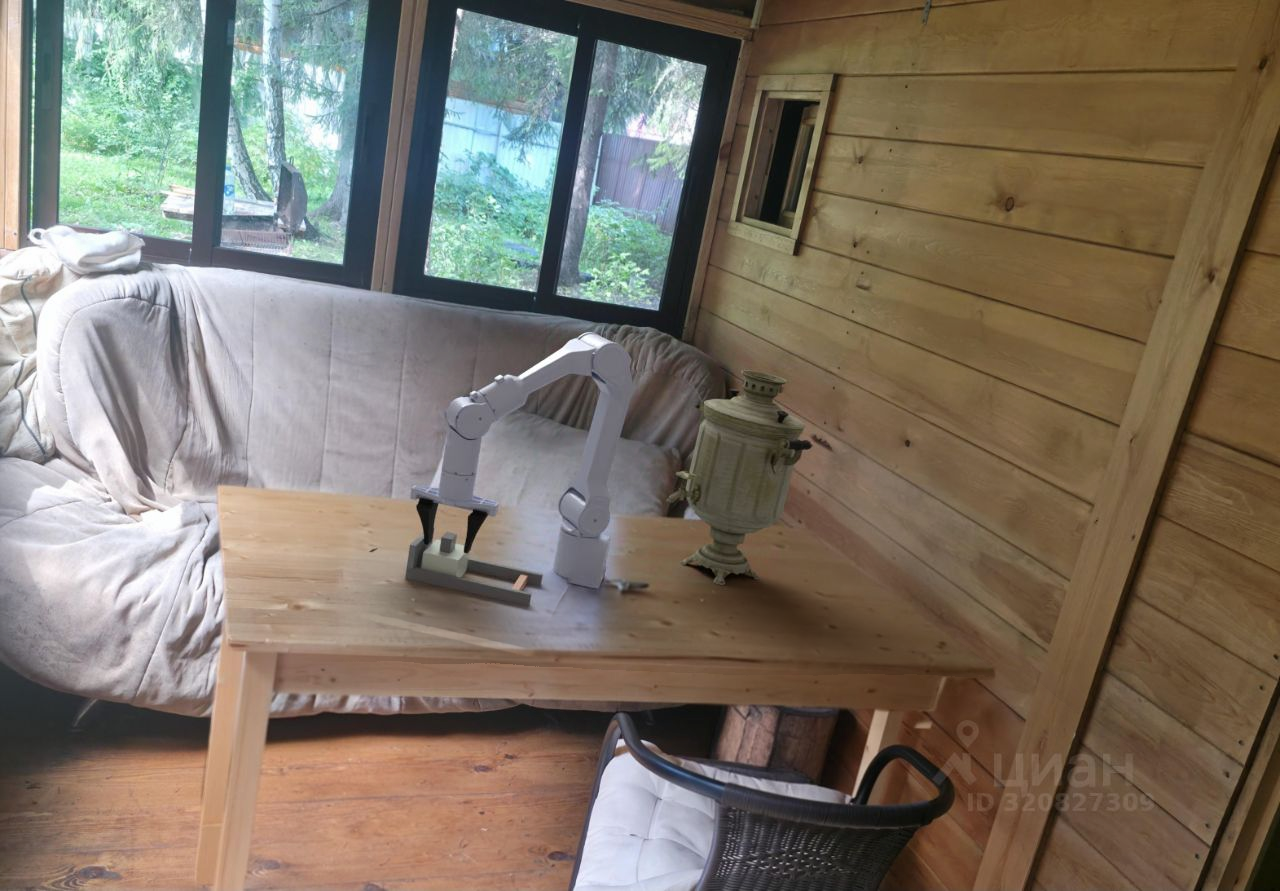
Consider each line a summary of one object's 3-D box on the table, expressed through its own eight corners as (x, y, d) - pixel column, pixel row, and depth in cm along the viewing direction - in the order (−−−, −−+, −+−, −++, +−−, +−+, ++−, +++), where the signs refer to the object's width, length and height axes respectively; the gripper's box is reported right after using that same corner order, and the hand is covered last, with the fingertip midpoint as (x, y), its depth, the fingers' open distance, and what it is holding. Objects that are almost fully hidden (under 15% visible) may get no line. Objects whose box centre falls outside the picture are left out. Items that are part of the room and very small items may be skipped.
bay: (541, 586, 175) (547, 550, 174) (526, 612, 164) (533, 574, 162) (425, 561, 177) (430, 524, 175) (402, 585, 165) (407, 546, 163)
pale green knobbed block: (466, 571, 174) (472, 533, 172) (454, 585, 167) (460, 545, 165) (432, 563, 174) (438, 525, 172) (419, 577, 167) (425, 538, 165)
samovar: (621, 537, 209) (658, 349, 199) (735, 545, 218) (775, 365, 209) (670, 597, 182) (715, 383, 172) (797, 603, 191) (847, 400, 181)
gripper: (408, 466, 163) (397, 545, 166) (495, 485, 162) (483, 564, 165) (422, 456, 169) (411, 532, 173) (506, 474, 168) (493, 550, 172)
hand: (447, 547), depth 169 cm, fingers open, 6 cm apart
